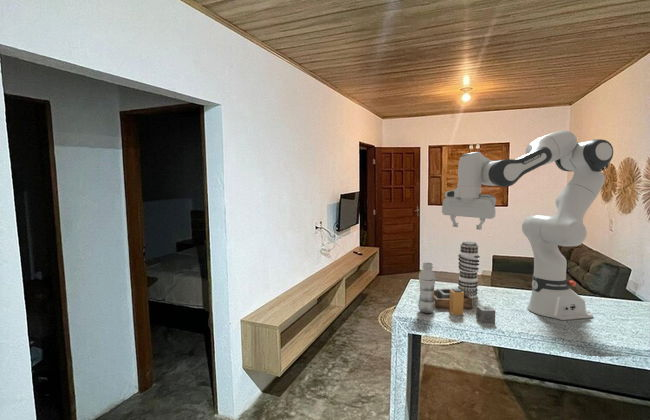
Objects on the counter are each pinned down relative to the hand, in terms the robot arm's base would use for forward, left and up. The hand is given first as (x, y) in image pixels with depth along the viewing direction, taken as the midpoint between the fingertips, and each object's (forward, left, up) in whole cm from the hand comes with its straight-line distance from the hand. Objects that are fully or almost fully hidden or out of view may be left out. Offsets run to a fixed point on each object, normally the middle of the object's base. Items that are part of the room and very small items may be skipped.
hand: (466, 228), depth 141 cm
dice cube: (-4, +9, -35) cm, 36 cm away
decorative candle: (-10, -21, -34) cm, 42 cm away
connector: (+4, +1, -34) cm, 34 cm away
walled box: (+3, -10, -34) cm, 36 cm away
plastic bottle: (+15, 0, -34) cm, 38 cm away
